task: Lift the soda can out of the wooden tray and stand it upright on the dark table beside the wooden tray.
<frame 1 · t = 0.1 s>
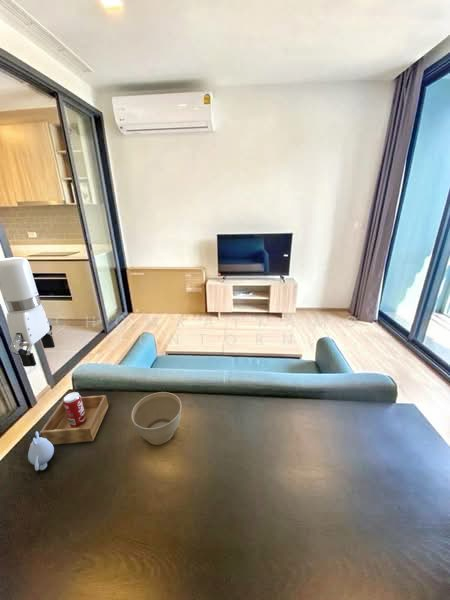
hand: (40, 356, 75), 32 cm above the table, tool pointing down, fingers open, 9 cm apart
soda can: (78, 423, 90), resting on wooden tray
planter bowl: (160, 433, 87), on the table
toy figure: (45, 464, 76), on the table
wooden tray: (79, 424, 90), on the table
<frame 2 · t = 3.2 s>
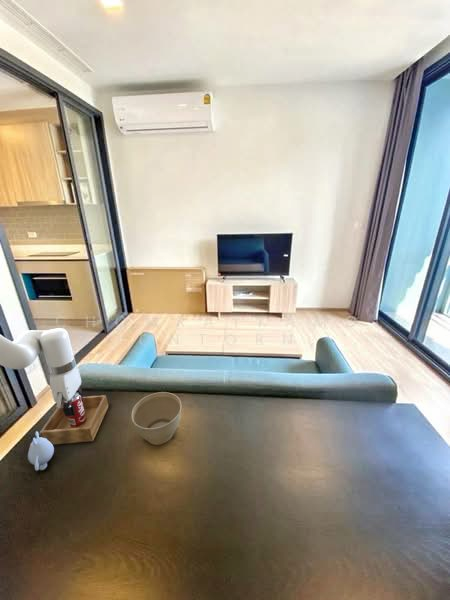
hand: (74, 408, 88), 7 cm above the table, tool pointing down, fingers closed on soda can, 5 cm apart
soda can: (78, 423, 90), resting on wooden tray, touching gripper
everything else where it was.
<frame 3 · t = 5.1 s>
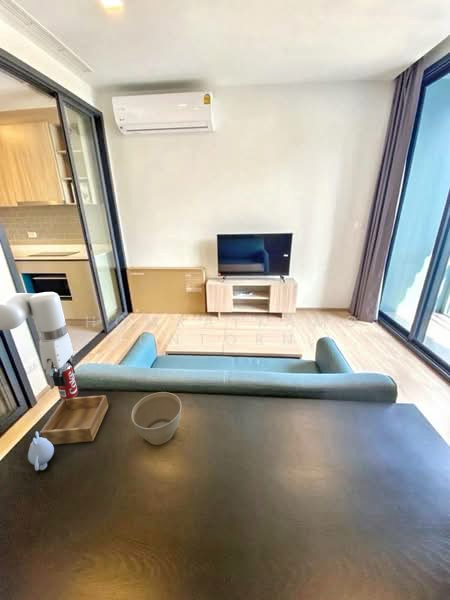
hand: (65, 379, 84), 20 cm above the table, tool pointing down, fingers closed on soda can, 5 cm apart
soda can: (69, 396, 86), point 13 cm above the table, touching gripper
everything else where it was.
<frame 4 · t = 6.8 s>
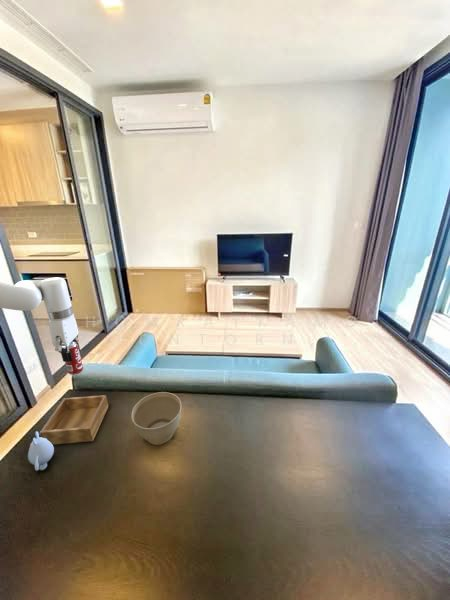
hand: (72, 356, 95), 21 cm above the table, tool pointing down, fingers closed on soda can, 5 cm apart
soda can: (76, 371, 97), point 14 cm above the table, touching gripper
everything else where it was.
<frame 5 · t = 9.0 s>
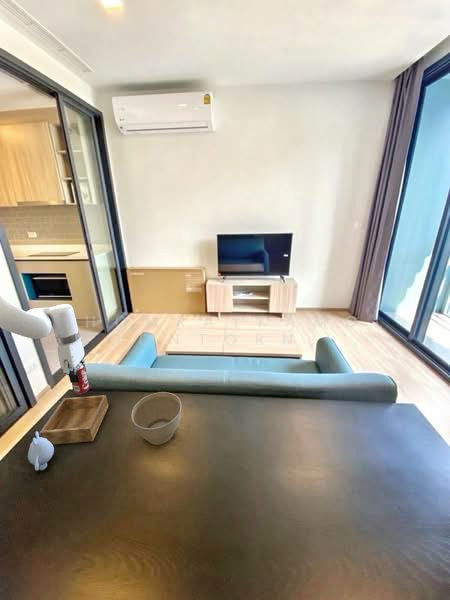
hand: (78, 376, 100), 10 cm above the table, tool pointing down, fingers closed on soda can, 5 cm apart
soda can: (82, 390, 102), point 3 cm above the table, touching gripper
everything else where it was.
when the fingers open (7 cm above the table, at t = 10.4 s): soda can stays where it is, on the table.
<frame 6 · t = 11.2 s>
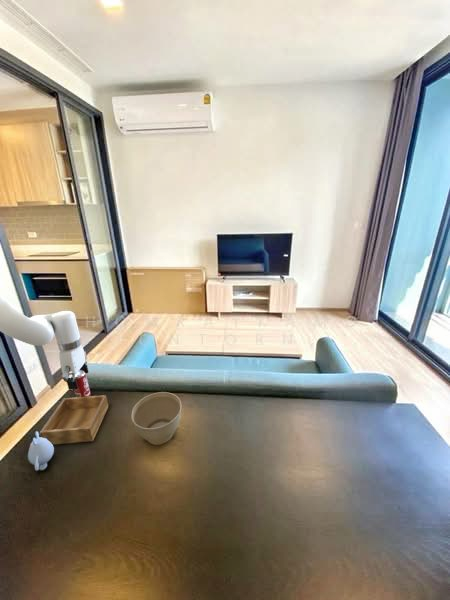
hand: (79, 380, 100), 9 cm above the table, tool pointing down, fingers open, 9 cm apart
soda can: (84, 397, 103), on the table
everything else where it was.
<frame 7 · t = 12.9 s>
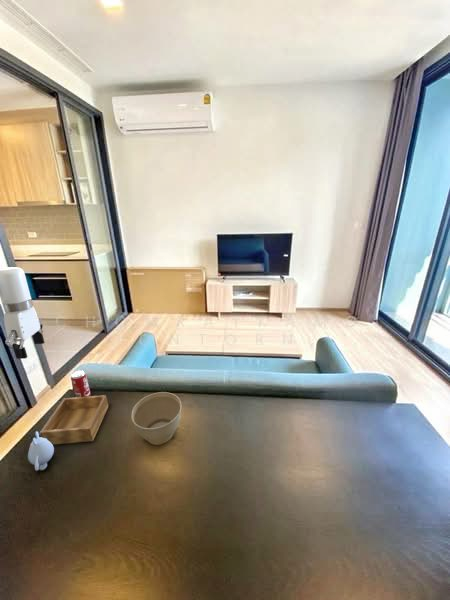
hand: (31, 350, 88), 27 cm above the table, tool pointing down, fingers open, 9 cm apart
nothing on the table moved.
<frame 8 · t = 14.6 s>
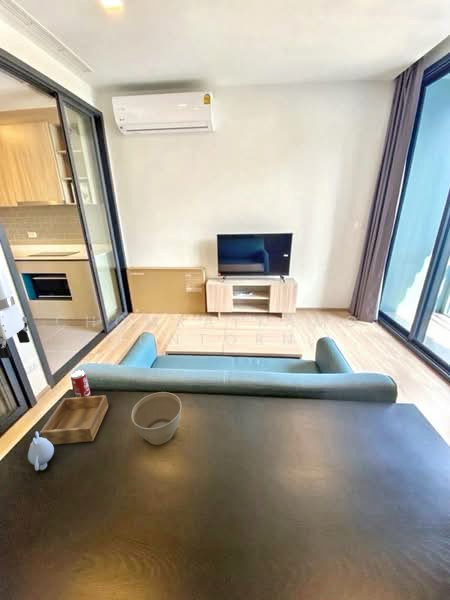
hand: (15, 349, 85), 28 cm above the table, tool pointing down, fingers open, 9 cm apart
nothing on the table moved.
at the end: soda can inside the target area (0.6 cm from its centre), on the table; soda can tilted 0°; the gripper is holding nothing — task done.
